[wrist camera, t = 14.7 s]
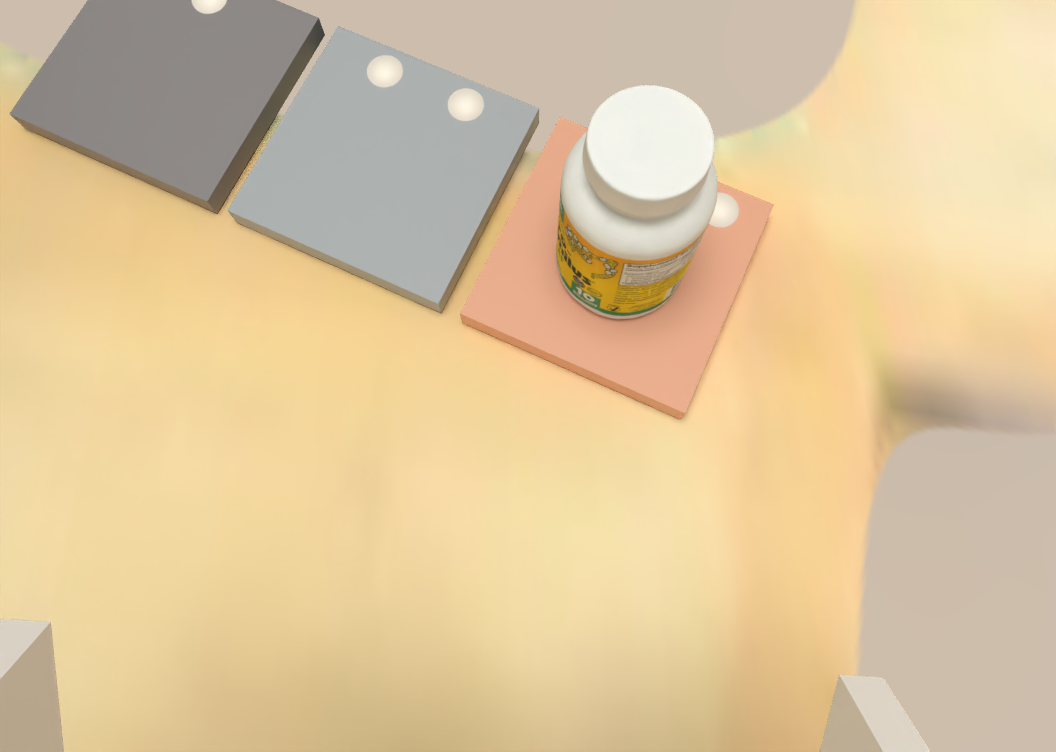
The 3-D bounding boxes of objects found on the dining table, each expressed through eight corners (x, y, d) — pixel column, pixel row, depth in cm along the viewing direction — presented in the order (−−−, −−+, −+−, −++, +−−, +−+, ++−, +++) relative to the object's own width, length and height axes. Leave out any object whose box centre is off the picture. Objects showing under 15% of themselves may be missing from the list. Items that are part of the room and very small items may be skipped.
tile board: (25, 128, 38) (8, 113, 37) (141, -41, 40) (128, -61, 39) (680, 419, 34) (685, 413, 33) (766, 216, 37) (774, 204, 35)
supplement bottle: (698, 305, 34) (762, 200, 25) (573, 335, 34) (590, 240, 25) (661, 189, 36) (709, 48, 26) (540, 217, 35) (545, 85, 26)
